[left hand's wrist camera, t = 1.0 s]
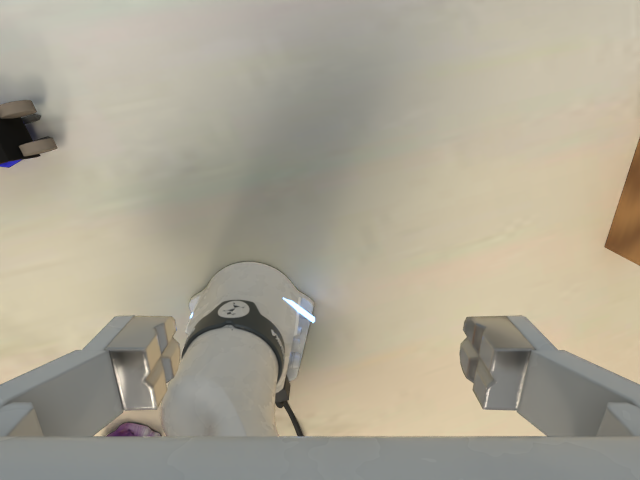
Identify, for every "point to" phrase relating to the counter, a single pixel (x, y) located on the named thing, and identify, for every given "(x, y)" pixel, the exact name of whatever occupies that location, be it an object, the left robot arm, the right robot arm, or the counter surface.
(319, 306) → the counter surface
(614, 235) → the bar
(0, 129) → the figurine character
